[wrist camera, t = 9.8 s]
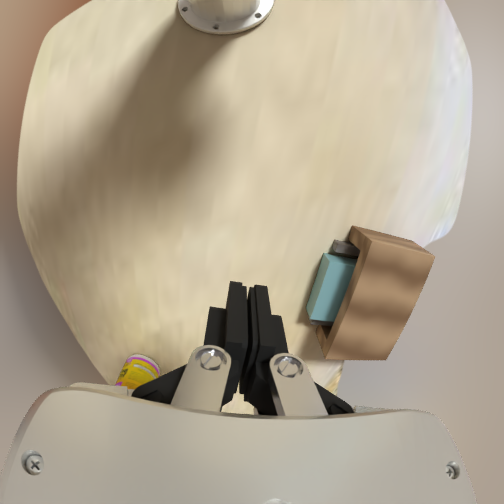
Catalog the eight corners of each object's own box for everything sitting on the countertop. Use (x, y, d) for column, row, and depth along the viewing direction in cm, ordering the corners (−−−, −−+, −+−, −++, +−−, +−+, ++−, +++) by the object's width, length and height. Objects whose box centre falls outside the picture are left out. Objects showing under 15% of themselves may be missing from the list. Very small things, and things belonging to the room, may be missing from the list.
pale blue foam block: (323, 252, 37) (329, 261, 34) (392, 266, 38) (401, 274, 35) (305, 307, 40) (310, 319, 37) (372, 315, 41) (378, 325, 38)
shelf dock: (339, 222, 35) (357, 237, 29) (411, 240, 37) (435, 256, 30) (304, 331, 42) (312, 358, 36) (371, 336, 43) (385, 360, 37)
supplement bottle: (132, 347, 42) (108, 400, 30) (165, 364, 44) (149, 420, 32) (123, 367, 44) (101, 417, 32) (153, 382, 46) (138, 434, 34)
